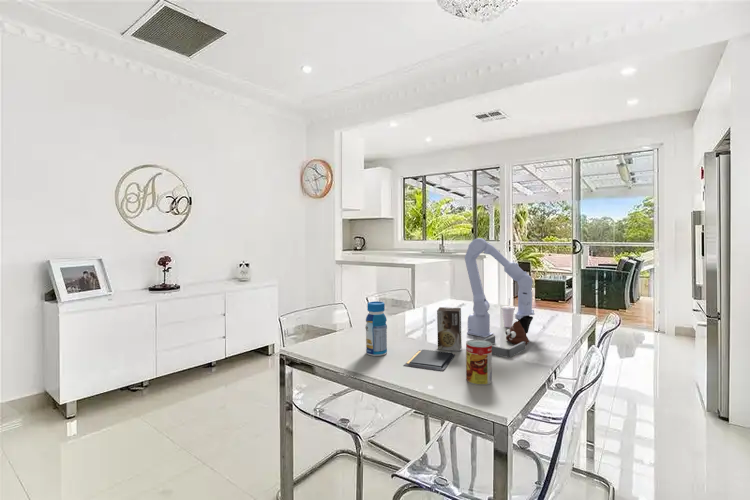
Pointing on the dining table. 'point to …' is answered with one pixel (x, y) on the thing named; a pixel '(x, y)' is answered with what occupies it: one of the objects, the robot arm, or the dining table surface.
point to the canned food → (479, 362)
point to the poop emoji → (516, 334)
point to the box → (505, 351)
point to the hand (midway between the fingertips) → (524, 332)
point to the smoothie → (508, 315)
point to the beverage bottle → (376, 329)
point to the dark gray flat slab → (430, 360)
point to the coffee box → (449, 328)
